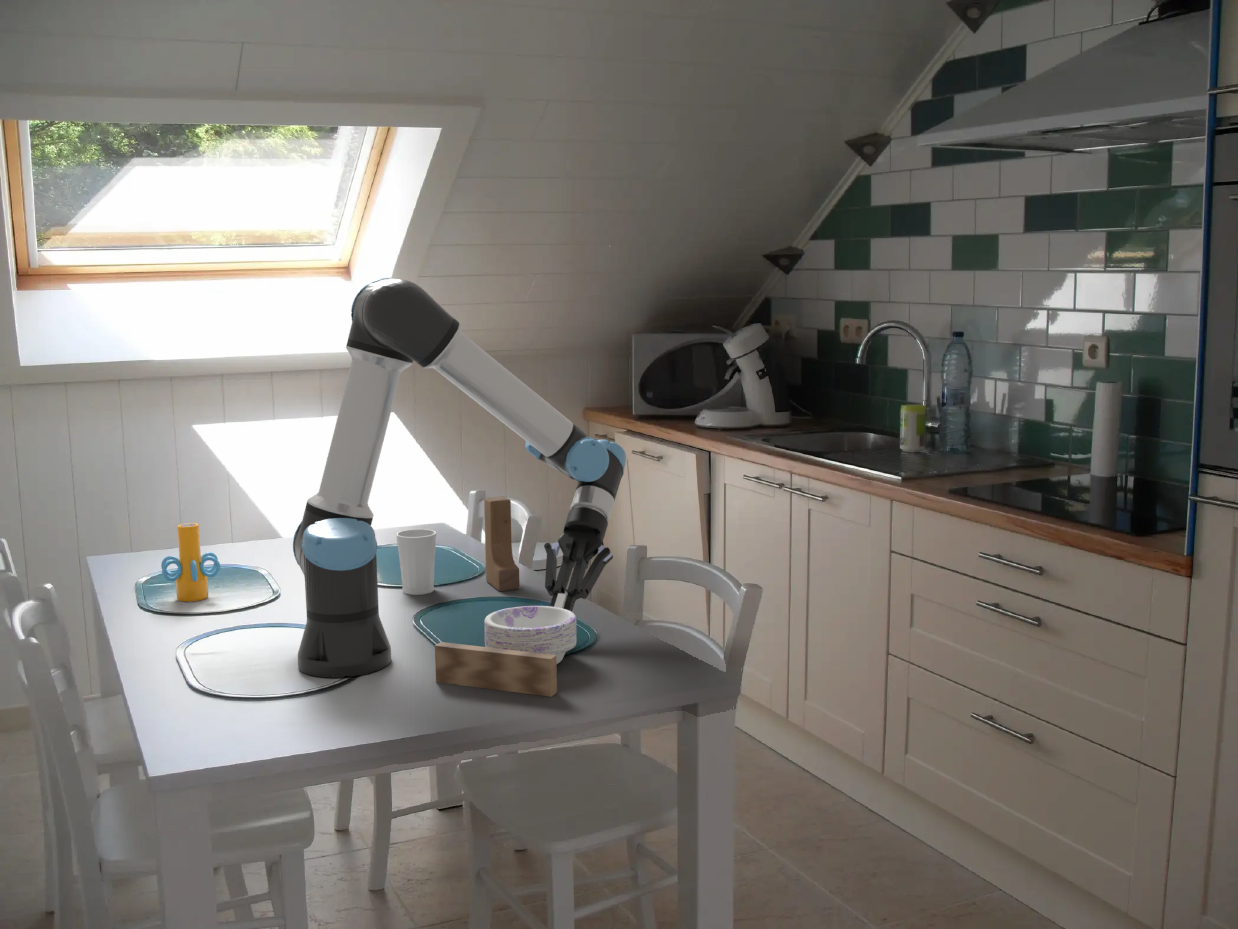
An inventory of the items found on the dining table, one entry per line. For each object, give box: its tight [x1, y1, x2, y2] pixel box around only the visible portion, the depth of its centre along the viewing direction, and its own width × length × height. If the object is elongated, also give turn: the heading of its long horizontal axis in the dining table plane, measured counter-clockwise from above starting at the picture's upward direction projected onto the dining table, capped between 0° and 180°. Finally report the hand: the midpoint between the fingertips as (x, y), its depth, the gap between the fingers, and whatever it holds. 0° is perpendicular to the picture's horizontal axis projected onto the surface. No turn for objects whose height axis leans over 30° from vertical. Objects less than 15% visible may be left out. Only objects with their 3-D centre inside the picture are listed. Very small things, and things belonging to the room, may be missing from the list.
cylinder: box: [160, 522, 221, 603], centre depth 239 cm, size 12×10×15 cm
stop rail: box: [434, 641, 558, 698], centre depth 186 cm, size 20×2×6 cm, turn 69°
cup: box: [396, 528, 437, 596], centre depth 243 cm, size 8×8×12 cm
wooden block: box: [483, 495, 520, 592], centre depth 246 cm, size 9×4×18 cm, turn 24°
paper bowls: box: [483, 605, 578, 665], centre depth 198 cm, size 15×15×8 cm
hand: (554, 630), depth 206 cm, fingers closed
